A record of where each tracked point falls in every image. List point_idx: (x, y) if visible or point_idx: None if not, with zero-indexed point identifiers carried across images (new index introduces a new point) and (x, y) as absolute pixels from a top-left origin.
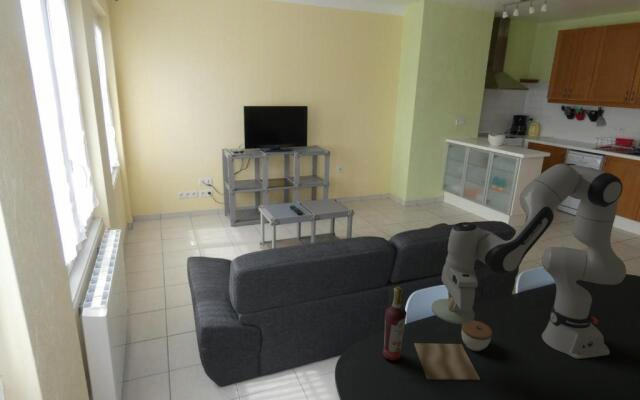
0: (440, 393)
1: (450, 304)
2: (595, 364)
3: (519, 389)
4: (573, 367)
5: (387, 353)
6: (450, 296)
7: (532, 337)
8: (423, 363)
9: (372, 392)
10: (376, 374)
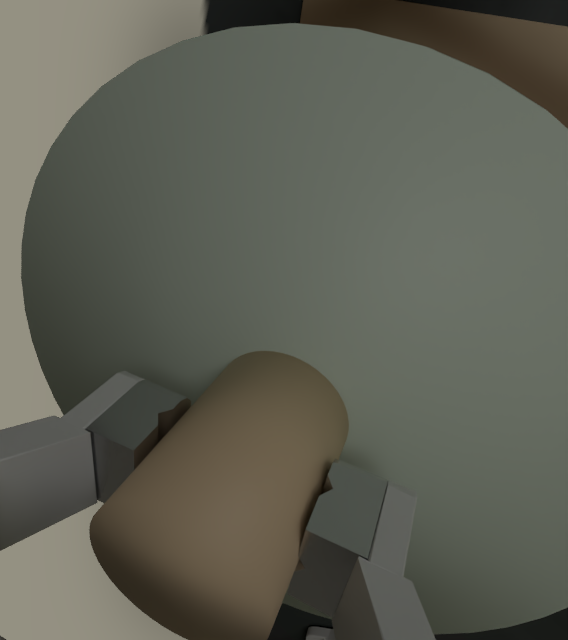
0: (209, 29)
1: (196, 425)
2: (282, 635)
3: None
4: None
5: None
6: (360, 623)
7: (446, 636)
8: (432, 20)
9: None
10: None
